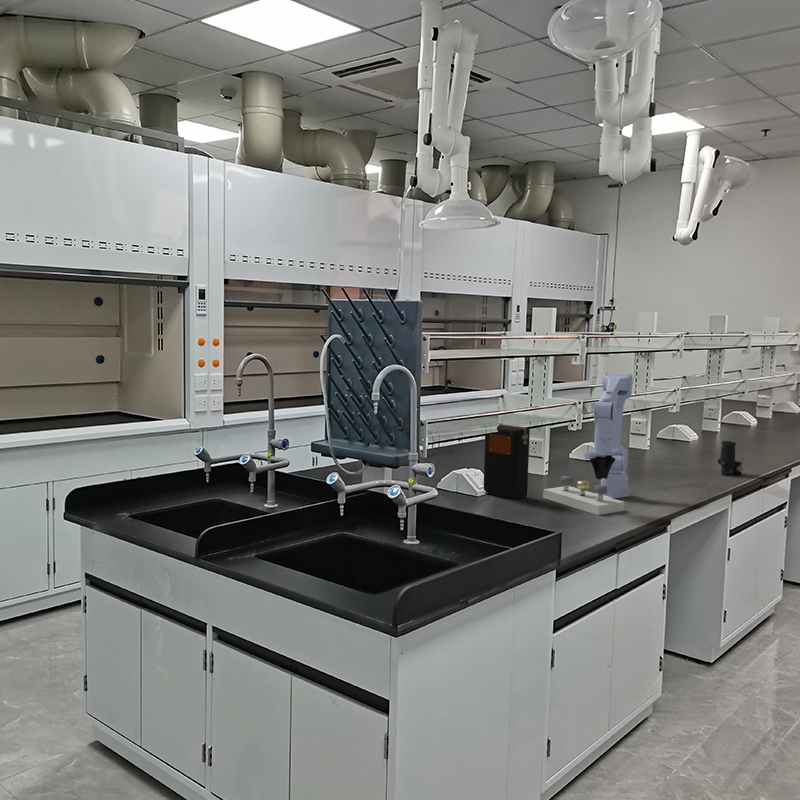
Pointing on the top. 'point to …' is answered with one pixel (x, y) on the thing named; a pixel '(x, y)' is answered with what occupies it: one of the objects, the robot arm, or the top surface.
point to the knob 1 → (566, 482)
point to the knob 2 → (600, 491)
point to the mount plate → (583, 500)
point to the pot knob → (582, 486)
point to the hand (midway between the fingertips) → (601, 478)
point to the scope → (729, 460)
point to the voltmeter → (507, 461)
